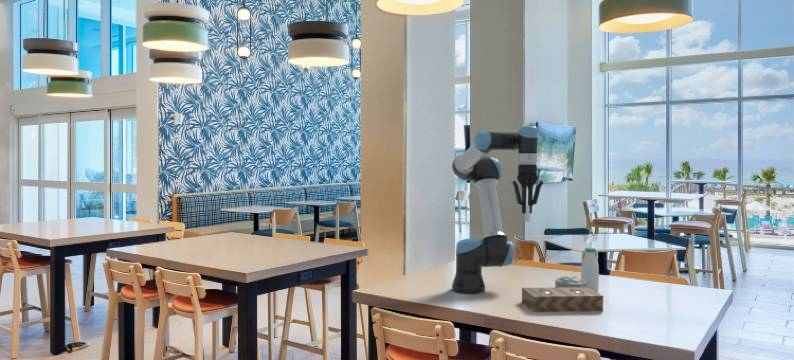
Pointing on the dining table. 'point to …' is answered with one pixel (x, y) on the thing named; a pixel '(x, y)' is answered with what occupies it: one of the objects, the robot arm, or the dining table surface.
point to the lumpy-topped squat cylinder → (570, 282)
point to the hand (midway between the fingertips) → (526, 221)
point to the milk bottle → (590, 269)
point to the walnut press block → (562, 299)
